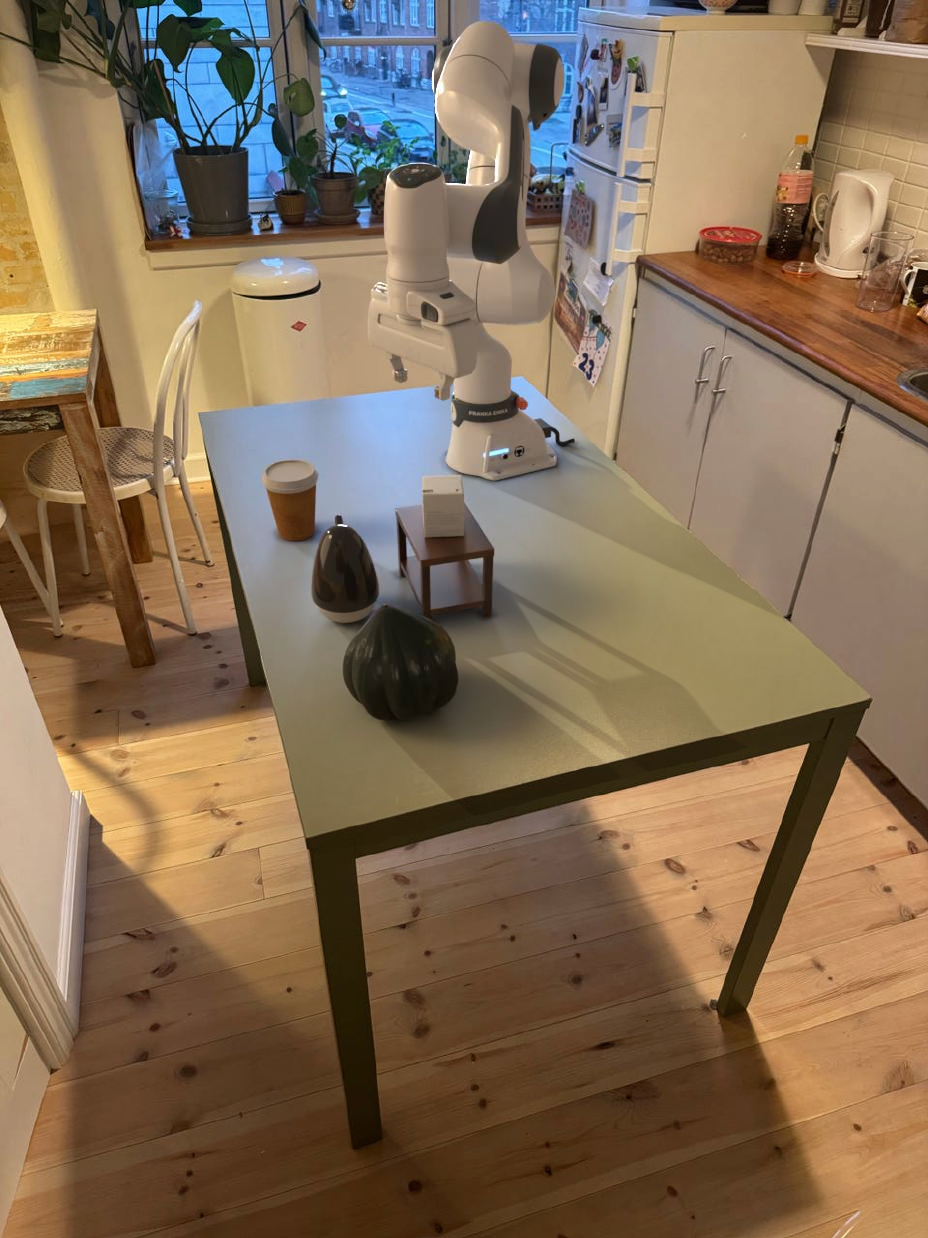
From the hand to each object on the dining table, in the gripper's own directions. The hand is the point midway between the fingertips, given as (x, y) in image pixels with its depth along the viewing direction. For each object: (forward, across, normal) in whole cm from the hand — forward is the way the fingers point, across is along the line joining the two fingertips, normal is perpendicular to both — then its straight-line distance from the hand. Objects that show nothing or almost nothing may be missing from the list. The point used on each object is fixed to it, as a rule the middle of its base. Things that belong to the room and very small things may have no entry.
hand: (420, 389), depth 132 cm
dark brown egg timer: (+29, +4, -20) cm, 36 cm away
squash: (+29, +25, -27) cm, 47 cm away
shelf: (+29, +10, -6) cm, 32 cm away
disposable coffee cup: (+30, -22, -11) cm, 38 cm away
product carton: (+17, +10, -5) cm, 21 cm away
